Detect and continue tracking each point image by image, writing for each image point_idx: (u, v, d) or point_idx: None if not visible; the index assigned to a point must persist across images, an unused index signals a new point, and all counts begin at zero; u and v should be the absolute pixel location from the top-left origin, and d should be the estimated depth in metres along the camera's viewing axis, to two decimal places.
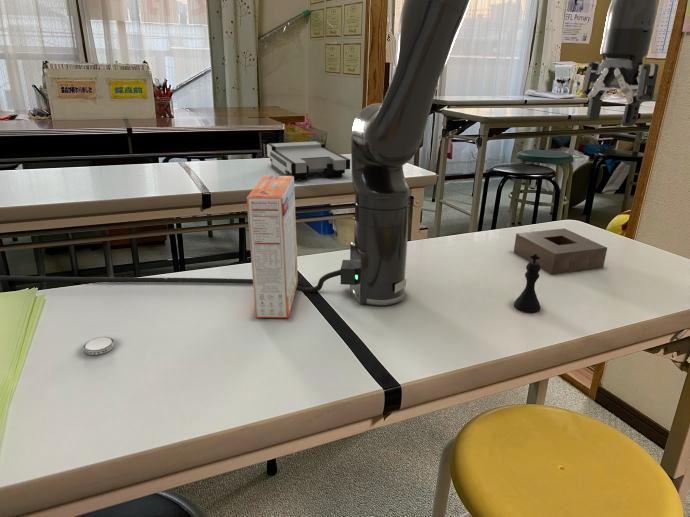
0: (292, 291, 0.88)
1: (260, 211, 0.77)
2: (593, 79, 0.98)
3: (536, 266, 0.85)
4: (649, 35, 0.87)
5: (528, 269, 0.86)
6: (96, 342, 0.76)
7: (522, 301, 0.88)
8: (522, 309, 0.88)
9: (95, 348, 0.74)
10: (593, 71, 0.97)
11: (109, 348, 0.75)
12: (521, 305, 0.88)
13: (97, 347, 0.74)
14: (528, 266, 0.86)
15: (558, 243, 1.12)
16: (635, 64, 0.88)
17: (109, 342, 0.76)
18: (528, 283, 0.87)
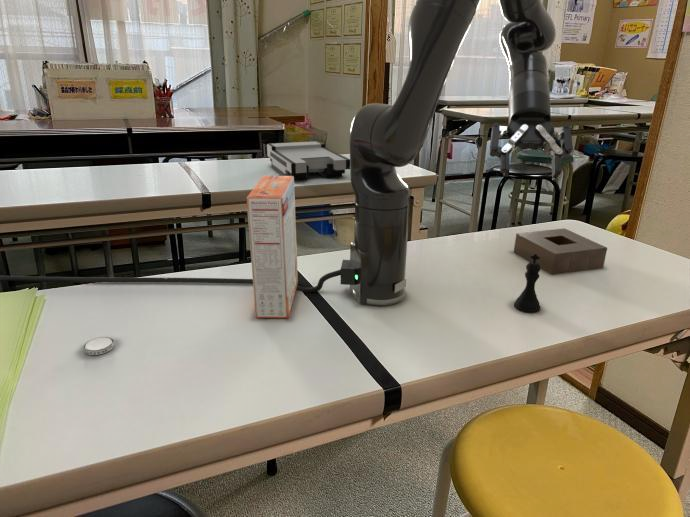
0: (292, 291, 0.88)
1: (260, 211, 0.77)
2: None
3: (536, 266, 0.85)
4: None
5: (528, 269, 0.86)
6: (96, 342, 0.76)
7: (522, 301, 0.88)
8: (522, 309, 0.88)
9: (95, 348, 0.74)
10: (501, 130, 0.95)
11: (109, 348, 0.75)
12: (521, 305, 0.88)
13: (97, 348, 0.74)
14: (528, 266, 0.86)
15: (558, 243, 1.12)
16: (552, 125, 0.95)
17: (109, 342, 0.76)
18: (528, 283, 0.87)
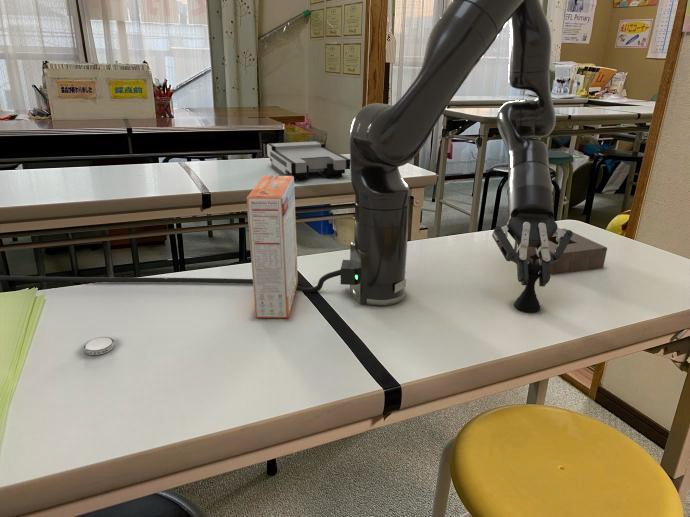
0: (292, 291, 0.88)
1: (260, 211, 0.77)
2: None
3: (536, 266, 0.85)
4: None
5: (528, 269, 0.86)
6: (96, 342, 0.76)
7: (522, 301, 0.88)
8: (522, 309, 0.88)
9: (95, 348, 0.74)
10: None
11: (109, 348, 0.75)
12: (521, 305, 0.88)
13: (97, 348, 0.74)
14: (528, 266, 0.86)
15: None
16: None
17: (109, 342, 0.76)
18: (528, 283, 0.87)
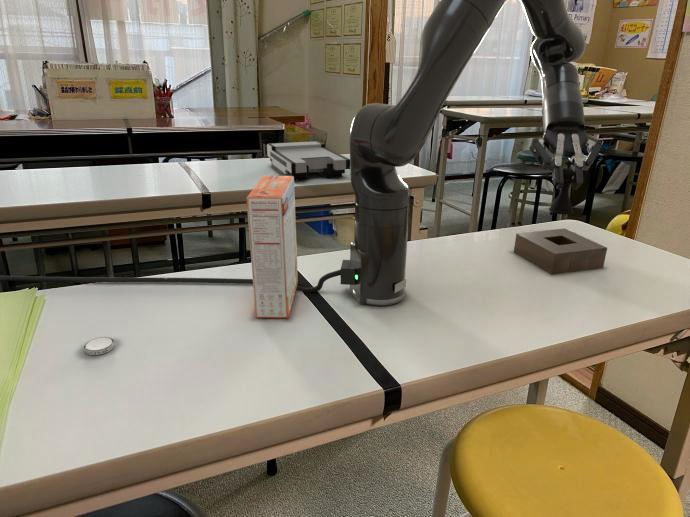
0: (292, 291, 0.88)
1: (260, 211, 0.77)
2: None
3: (570, 170, 0.96)
4: None
5: (563, 174, 0.97)
6: (96, 342, 0.76)
7: (556, 204, 0.98)
8: (557, 212, 0.98)
9: (95, 348, 0.74)
10: None
11: (109, 348, 0.75)
12: (556, 208, 0.98)
13: (97, 348, 0.74)
14: (563, 171, 0.97)
15: (558, 243, 1.12)
16: (588, 137, 0.99)
17: (109, 342, 0.76)
18: (562, 187, 0.98)
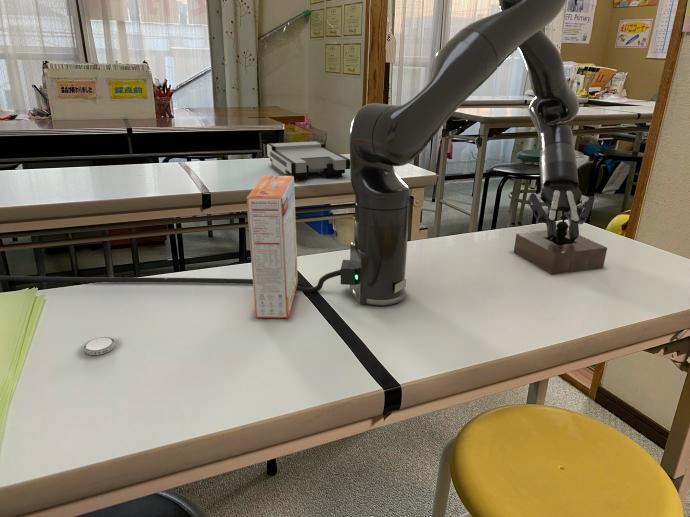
0: (292, 291, 0.88)
1: (260, 211, 0.77)
2: None
3: (565, 224, 1.06)
4: None
5: (558, 227, 1.07)
6: (97, 342, 0.76)
7: None
8: None
9: (96, 348, 0.74)
10: None
11: (110, 348, 0.75)
12: None
13: (97, 348, 0.74)
14: (558, 225, 1.07)
15: None
16: (581, 193, 1.09)
17: (110, 342, 0.76)
18: (558, 239, 1.08)
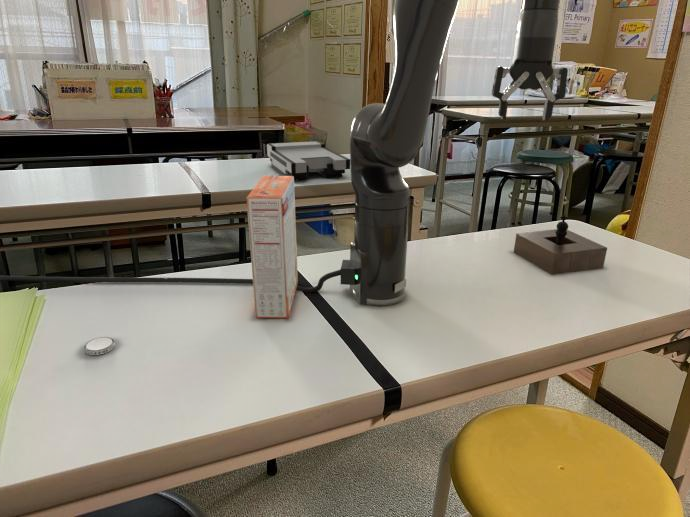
0: (292, 291, 0.88)
1: (260, 211, 0.77)
2: None
3: (565, 224, 1.06)
4: None
5: (558, 227, 1.07)
6: (97, 342, 0.76)
7: None
8: None
9: (96, 348, 0.74)
10: None
11: (110, 348, 0.75)
12: None
13: (98, 348, 0.74)
14: (558, 225, 1.07)
15: None
16: (552, 68, 1.03)
17: (110, 342, 0.76)
18: (558, 239, 1.08)
